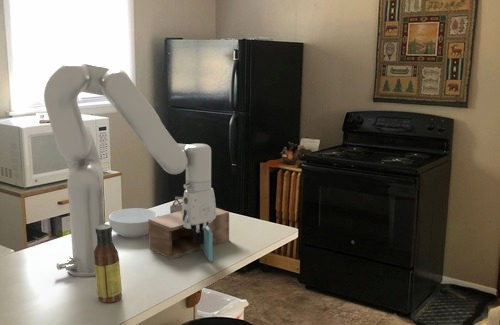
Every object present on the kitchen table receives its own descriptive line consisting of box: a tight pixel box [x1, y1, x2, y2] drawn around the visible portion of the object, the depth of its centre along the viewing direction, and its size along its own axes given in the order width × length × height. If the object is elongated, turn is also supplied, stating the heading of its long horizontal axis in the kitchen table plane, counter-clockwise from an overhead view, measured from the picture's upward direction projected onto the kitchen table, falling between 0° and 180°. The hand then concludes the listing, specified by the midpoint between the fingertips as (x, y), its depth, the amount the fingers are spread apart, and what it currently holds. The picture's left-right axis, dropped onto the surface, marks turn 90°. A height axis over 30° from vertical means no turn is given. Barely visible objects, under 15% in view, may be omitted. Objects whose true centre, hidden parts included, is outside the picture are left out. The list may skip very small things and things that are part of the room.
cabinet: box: [148, 207, 230, 259], centre depth 185 cm, size 24×12×10 cm, turn 134°
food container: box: [169, 196, 183, 213], centre depth 201 cm, size 12×6×10 cm, turn 179°
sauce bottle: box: [94, 223, 123, 304], centre depth 145 cm, size 7×6×20 cm
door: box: [201, 226, 217, 262], centre depth 176 cm, size 12×2×9 cm, turn 17°
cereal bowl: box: [108, 207, 159, 239], centre depth 195 cm, size 17×17×7 cm
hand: (198, 243), depth 172 cm, fingers closed
